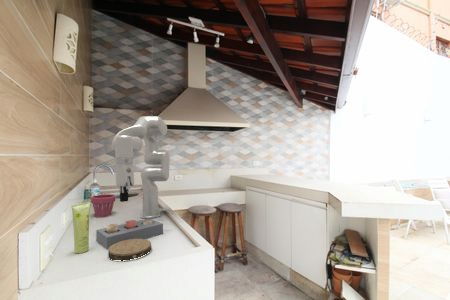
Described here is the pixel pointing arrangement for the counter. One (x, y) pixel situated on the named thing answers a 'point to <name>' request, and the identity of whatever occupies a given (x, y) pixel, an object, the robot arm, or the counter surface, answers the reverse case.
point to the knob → (112, 228)
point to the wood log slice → (129, 249)
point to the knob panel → (129, 233)
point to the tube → (81, 226)
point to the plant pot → (103, 204)
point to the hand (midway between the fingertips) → (124, 201)
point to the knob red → (130, 224)
